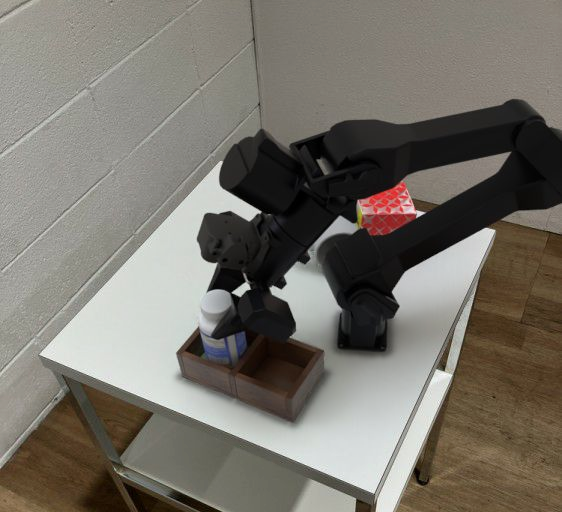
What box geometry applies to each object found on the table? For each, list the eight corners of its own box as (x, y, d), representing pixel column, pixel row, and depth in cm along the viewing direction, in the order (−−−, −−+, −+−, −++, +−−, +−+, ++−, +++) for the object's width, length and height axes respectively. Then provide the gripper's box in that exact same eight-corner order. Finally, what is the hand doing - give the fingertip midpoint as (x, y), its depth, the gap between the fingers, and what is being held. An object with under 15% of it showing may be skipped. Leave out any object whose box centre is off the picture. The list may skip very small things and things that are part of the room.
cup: (348, 234, 100) (359, 272, 95) (285, 234, 99) (293, 272, 93) (356, 195, 95) (369, 232, 89) (290, 194, 93) (298, 232, 88)
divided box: (324, 373, 82) (324, 350, 78) (292, 422, 77) (291, 399, 74) (217, 332, 87) (212, 309, 84) (181, 376, 83) (175, 352, 79)
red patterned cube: (351, 181, 93) (362, 214, 88) (403, 181, 94) (417, 213, 89) (343, 226, 99) (353, 259, 94) (392, 225, 100) (404, 258, 95)
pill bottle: (235, 333, 84) (225, 278, 77) (255, 358, 81) (247, 303, 74) (199, 350, 83) (185, 296, 75) (218, 377, 80) (206, 323, 72)
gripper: (217, 147, 70) (142, 247, 78) (257, 251, 59) (164, 357, 66) (290, 193, 77) (214, 281, 85) (338, 294, 66) (245, 386, 73)
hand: (209, 321), depth 77 cm, fingers closed on pill bottle, 5 cm apart
